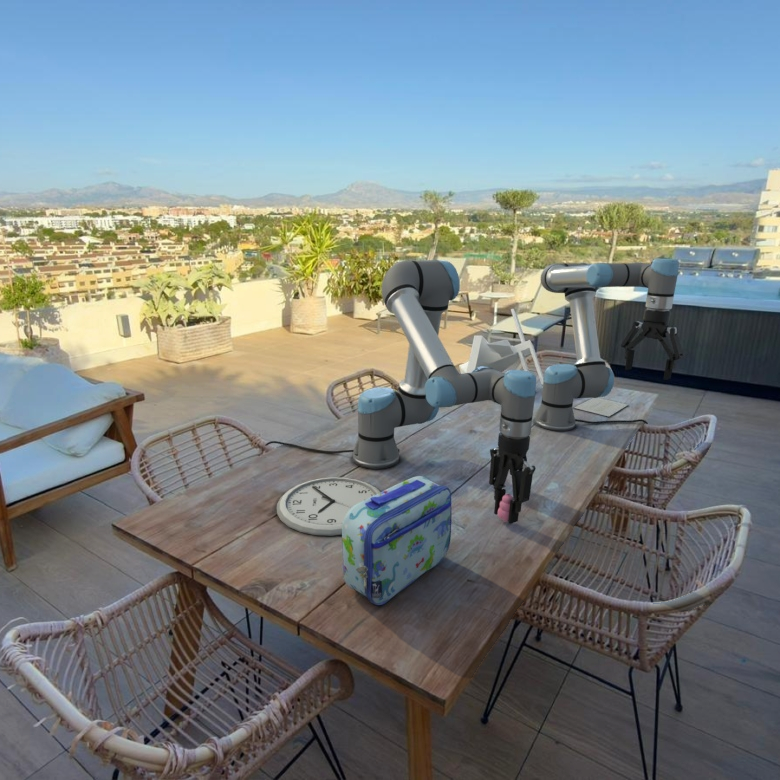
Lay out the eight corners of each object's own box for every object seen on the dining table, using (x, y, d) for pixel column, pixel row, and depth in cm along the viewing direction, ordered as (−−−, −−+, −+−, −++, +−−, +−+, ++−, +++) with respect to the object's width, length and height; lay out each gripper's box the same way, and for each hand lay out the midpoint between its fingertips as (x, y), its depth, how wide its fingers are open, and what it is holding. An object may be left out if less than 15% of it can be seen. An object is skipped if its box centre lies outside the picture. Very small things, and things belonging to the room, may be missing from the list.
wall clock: (392, 527, 129) (268, 531, 127) (391, 533, 130) (269, 537, 127) (383, 473, 158) (282, 475, 155) (383, 478, 158) (282, 480, 156)
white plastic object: (480, 422, 262) (459, 399, 237) (462, 348, 284) (440, 320, 259) (552, 397, 249) (538, 371, 225) (527, 322, 271) (511, 291, 247)
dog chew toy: (505, 512, 138) (508, 488, 136) (518, 520, 134) (520, 496, 132) (493, 517, 136) (495, 492, 133) (505, 525, 132) (508, 500, 130)
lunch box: (371, 618, 102) (371, 524, 95) (336, 591, 109) (334, 502, 103) (455, 562, 119) (460, 479, 113) (420, 542, 126) (423, 463, 120)
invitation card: (608, 416, 214) (573, 407, 224) (608, 416, 214) (573, 408, 224) (628, 404, 229) (594, 396, 238) (628, 405, 229) (594, 397, 238)
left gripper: (478, 424, 133) (472, 505, 140) (530, 449, 119) (520, 538, 126) (500, 419, 137) (493, 498, 144) (553, 443, 123) (541, 529, 130)
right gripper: (615, 304, 173) (606, 366, 179) (690, 315, 153) (677, 385, 159) (629, 303, 177) (620, 364, 183) (704, 314, 157) (691, 381, 163)
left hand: (505, 517), depth 135 cm, fingers closed on dog chew toy, 4 cm apart
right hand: (646, 374), depth 171 cm, fingers open, 13 cm apart
